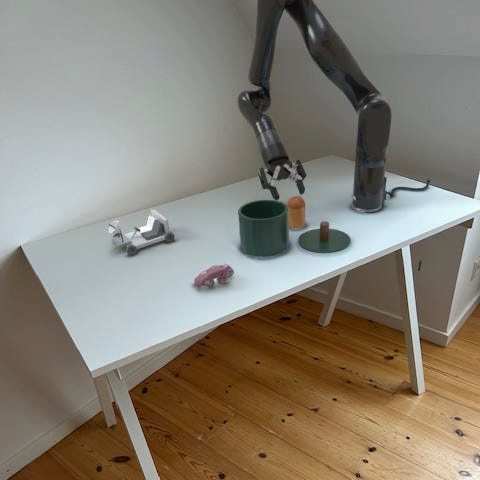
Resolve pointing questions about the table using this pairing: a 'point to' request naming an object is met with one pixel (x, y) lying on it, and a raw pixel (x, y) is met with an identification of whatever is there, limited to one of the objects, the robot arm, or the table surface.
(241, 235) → the pot
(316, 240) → the lid
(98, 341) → the table surface
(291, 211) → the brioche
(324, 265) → the table surface
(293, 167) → the robot arm
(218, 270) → the video game controller
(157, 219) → the toy car
